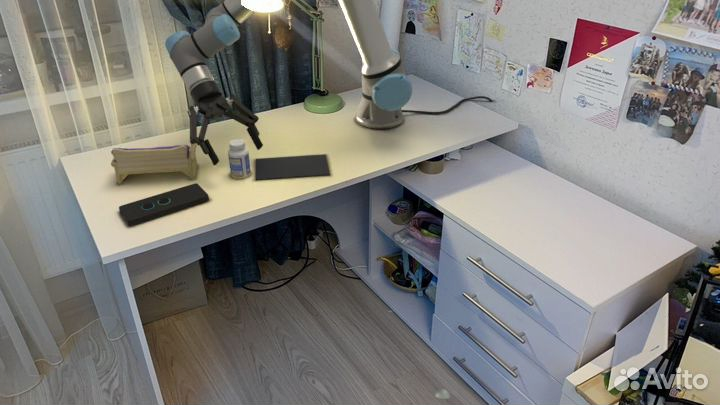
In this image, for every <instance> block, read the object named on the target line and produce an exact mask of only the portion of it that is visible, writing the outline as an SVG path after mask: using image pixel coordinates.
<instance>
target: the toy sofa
mask: <svg viewBox="0 0 720 405" xmlns="http://www.w3.org/2000/svg"><path fill="white" fill-rule="evenodd" d="M196 152H197V144H191V143H190V145H188V144H176V145H171V146H170V145H169V146H156V147H141V148H140V147H137V148H132V147H131V148H129V147H128V148H127V147H126V148H123V147H114V148H112V150H111V151H110V153H111V155H112V160H111V162H110V165H111V166H110V167H113V170H114V172H115V177H116V181H117V182H116V183H117V184H119V185H120V184H122V183H123V181H124V180H125V179H126V178H127V177H128V176H129V175H139V174H153V173H154V174H155V173H156V174H157V173H171V172H173V173H174V172H181V173H183V174H185V175H186V176H187V177H189V178H190V179H191V180H195V179H196V173H197V169H198V161H197V156H196Z"/></svg>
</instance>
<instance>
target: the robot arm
mask: <svg viewBox="0 0 720 405" xmlns="http://www.w3.org/2000/svg"><path fill="white" fill-rule="evenodd" d="M338 2H339V5H340V8H341V10H342V13H343V15H344V18H345V20H346V22H347V25H348V28H349V30H350V33H351V35H352V38H353V40H354V43H355V45H356V47H357V50H358V53H359V55H360V58H361V63H362V64H361V99H360V102H359V105H358V107H357V111H356V117H355V120H356V123H358V124H359V125H360V126H362V127H364V128H367V129H368V128H369V129H374V130H386V129H392V128H395V127H398V126H400V125H401V124H402V123H403V121H404V113H412V114H426V115H441V114H446V113H449V112H450V111H452V110H453V109H455V108H457V107H458V106H459V105H460V104H461V103H463V102H466V101H471V100H476V99H484V100H487V101H489V102H491V103H493V102H494V100H492V98H490V97H488V96H485V95H478V96H471V97H466V98H462V99H461V100H459V101H458V102H457V103H456V104H454V105H452V106H451V107H449V108H447V109H445V110H439V111H429V110H428V111H427V110H411V109H402V108H404V107H405V106H406V105H407V104H408V103H409V101H410V100H411V98H412V95H413V86H412V81H411V79H410V78H409V77H408V75H407V73H406V70H405V68H404V65H403V62H402V60H401V53H400V52H399V51H398V50H397V49H394V48H393V49H392V48H391V45H390V42H389V39H388V37H387V35H386V32H385V29H384V26H383V23H382V20H381V18H380V16H379V13H378V10H377V7H376V5H375V2H374V0H338ZM255 13H256V12H254V11H251V10H249V9H247V8H245V7H244V6H242V5H241V0H224V1H222V2H221V3H220V4H219V5H217V6H216V7H213V8H211V9H210V10H209V12H207V14H206V16H205V20H204V21H205V22H204V25H203V26H202V27H200V28H199V29H197V30H196V31H194V32H193V33H191V34H190V32H188V31H186V30H178V31H177V32H173V33H171V34H170V35H168V37H167V38H166V39H165V42H164V46H165V49H166V51H167V54H168V55H169V59H170V60H171V61H172V63H173V65H174V67H175V68H176V70H177V72H178V74H179V76H180V78H181V80H182V82H183V83H184V86H185V87H186V89H187V91H188V92H189V94H190V97H191V99H192V101H193V102H194V104H195V105H196V106H194V105H190V106H189V107H188V109H187V115H188V117H189V143H190V145H191V144H196V146H199V147H200V148H201V151H202V152H203V154H204V155H208V157H209V160H210V162H211V163H212V166H217V165H218V164H219V162H220V159H219V157H218V155H217V153H216V152H215V149H214V147H213V145H212V144H211V142H210V140H209V139H208V138H207V139H205V138H206V134H207V130H208V127H209V123H210V120H215V119H217V118H222V117H223V116H224V117H226V118H229V119H231V120H234V121H235V122H237V123H240V124H241V125H242V126H245V127H247V128H246V131H247V133H248V135H249V138H250V139H251V141H252V142H253V143H252V144H253V145H254V146H255V148H256V150H257V151H259V150H261V148H262V147H263V146H264V144H263V142H262V140H261V138H260V137H259V135H260V131H259V130H258V127H257V126H256V123H258V121H259V119H260V118H259V116H257V115H256V114H255V113H254V112H253V111H251V109H249V108H248V107H247V106H246V105H244V104H243V103H242V102H241V101H239V99H238V98H237V96H235V94H233V93H231V94H230V95H229V96H227V97H224V95H223V94H222V91H221V89H220V86H218V83H217V82H216V81H215V78H214V76H213V74H212V72H211V71H210V69H209V66H208V65H207V63H206V61H207V60H209V59H210V58H212V57H213V56H216V54H218V53H220V52H221V51H224V50H225V49H226V48H229V46H232V45H233V44H235V42H237V41H238V40H240V38H241V33H240V30H239V26H240V25H241V24H243V23H244V22H245V21H247V20H248V19H249V18H250V17H251V16H252V15H254V14H255ZM198 113H199V114H201V115H203V117H202V122H201V126H200V130H199V133H198V123H197V122H198V118H197V117H198V116H197V115H198Z"/></svg>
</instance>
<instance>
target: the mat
mask: <svg viewBox="0 0 720 405" xmlns="http://www.w3.org/2000/svg"><path fill="white" fill-rule="evenodd" d="M325 176H326V177H327V176H331V172H330V168H329V162H328V159H327V154H325V153H323V154H322V153H321V154H309V155H308V154H307V155H293V156H279V157H263V158H255V181H267V180H281V179H282V180H283V179H295V178H296V179H297V178H310V177H325Z"/></svg>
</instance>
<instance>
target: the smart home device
mask: <svg viewBox="0 0 720 405" xmlns="http://www.w3.org/2000/svg"><path fill="white" fill-rule="evenodd" d="M209 201H210V196H209V194H208V193H207V192H206V191H205V190H204V189H203V187H201V185H200V184H199V183H198V182H197V183H191V184H188V185H184V186H182V187H178V188H174V189H171V190H168V191H164V192H161V193H158V194H155V195H152V196H148V197H145V198H142V199H139V200H134V201H132V202H127V203H125V204H121V205H120V206H118V210H119V213H120V215H121V216H122V218H123V219H124V221H125V222H126V224H127V225H128V226H129V227H134V226H137V225H140V224H143V223H146V222H149V221H152V220H156V219H159V218H162V217H164V216H167V215H172V214H174V213H177V212H180V211H183V210H187V209H189V208H193V207H196V206H199V205H202V204H205V203H208V202H209Z"/></svg>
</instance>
